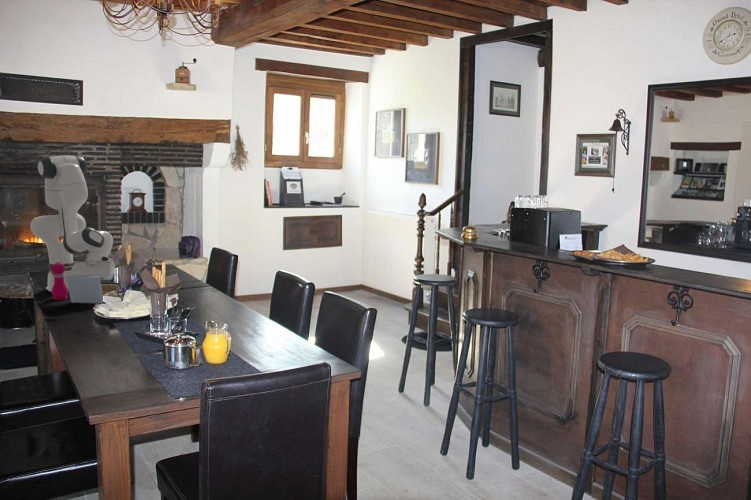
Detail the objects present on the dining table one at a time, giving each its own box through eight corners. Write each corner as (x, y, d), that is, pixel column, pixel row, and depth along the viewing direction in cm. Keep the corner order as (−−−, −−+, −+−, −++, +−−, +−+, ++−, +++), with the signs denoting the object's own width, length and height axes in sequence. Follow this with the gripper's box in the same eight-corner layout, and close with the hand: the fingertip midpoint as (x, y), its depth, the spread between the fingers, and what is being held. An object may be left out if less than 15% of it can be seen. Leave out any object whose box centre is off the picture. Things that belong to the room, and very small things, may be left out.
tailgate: (72, 302, 309) (67, 275, 305) (104, 303, 307) (100, 276, 303) (70, 303, 308) (66, 276, 304) (103, 304, 306) (98, 277, 302)
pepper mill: (72, 299, 319) (69, 259, 316) (63, 303, 312) (60, 261, 309) (57, 299, 320) (54, 258, 317) (49, 302, 313) (45, 261, 310)
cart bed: (88, 297, 323) (87, 283, 322) (118, 298, 322) (117, 284, 320) (73, 304, 309) (72, 290, 308) (104, 305, 308) (103, 290, 307)
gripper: (72, 257, 313) (62, 282, 305) (113, 258, 311) (104, 282, 303) (78, 265, 318) (68, 289, 310) (118, 265, 316) (110, 290, 308)
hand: (86, 286), depth 306 cm, fingers closed, pressing on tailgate
